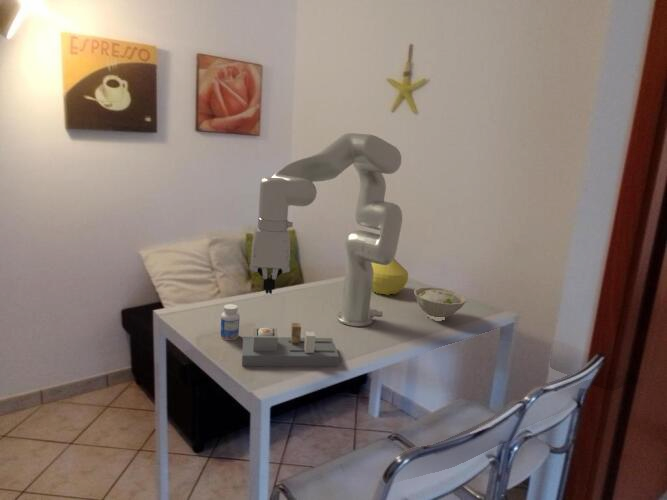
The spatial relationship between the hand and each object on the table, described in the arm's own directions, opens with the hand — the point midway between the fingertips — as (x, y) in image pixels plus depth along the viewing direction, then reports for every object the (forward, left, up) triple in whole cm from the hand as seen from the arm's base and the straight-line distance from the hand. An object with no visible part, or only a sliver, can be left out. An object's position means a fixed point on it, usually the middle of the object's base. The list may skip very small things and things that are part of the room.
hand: (268, 291), depth 128 cm
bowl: (-64, -32, -19) cm, 74 cm away
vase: (-52, -61, -19) cm, 83 cm away
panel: (-7, 0, -19) cm, 20 cm away
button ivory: (0, 0, -15) cm, 15 cm away
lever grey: (-12, +3, -16) cm, 20 cm away
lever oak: (-9, -3, -16) cm, 18 cm away
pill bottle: (+10, -12, -19) cm, 25 cm away
